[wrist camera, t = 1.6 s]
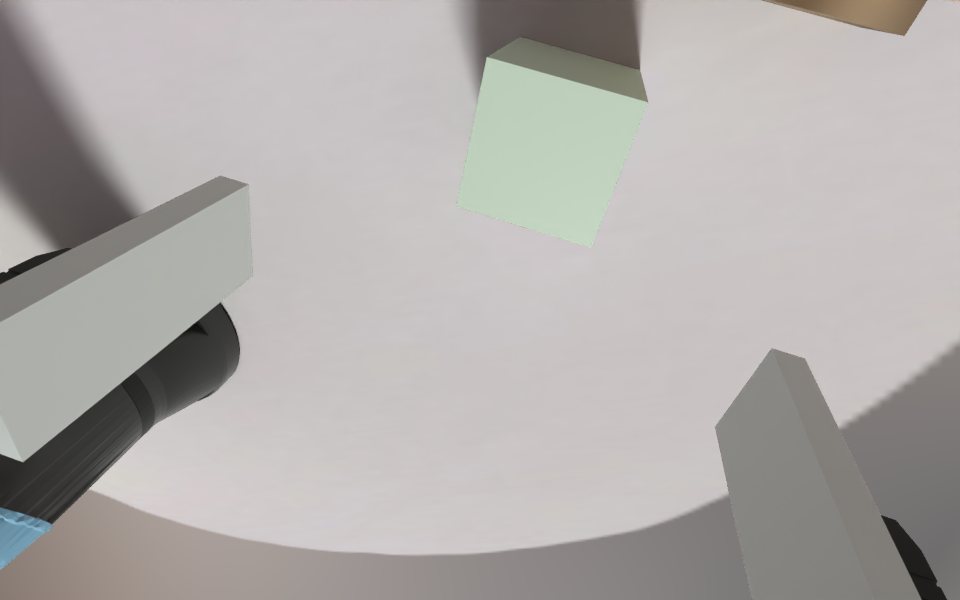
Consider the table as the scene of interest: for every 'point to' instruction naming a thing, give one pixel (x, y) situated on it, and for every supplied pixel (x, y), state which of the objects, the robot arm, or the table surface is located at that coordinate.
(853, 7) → the walnut slab
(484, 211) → the sage block
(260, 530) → the table surface
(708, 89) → the table surface
